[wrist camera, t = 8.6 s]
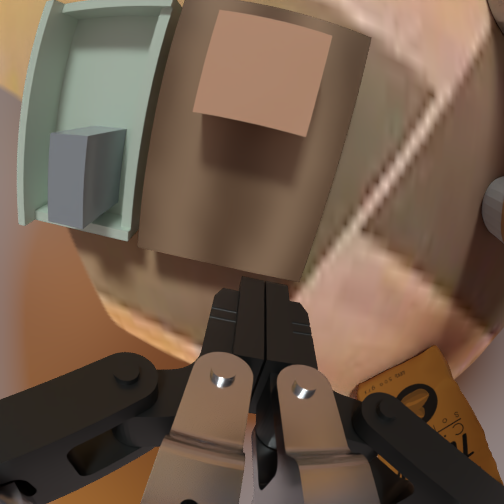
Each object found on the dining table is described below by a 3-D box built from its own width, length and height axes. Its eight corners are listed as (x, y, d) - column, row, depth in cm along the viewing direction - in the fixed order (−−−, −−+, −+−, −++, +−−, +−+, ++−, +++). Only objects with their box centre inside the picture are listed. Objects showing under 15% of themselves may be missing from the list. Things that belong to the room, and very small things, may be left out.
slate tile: (87, 135, 15) (50, 133, 14) (82, 229, 17) (48, 221, 17) (126, 128, 20) (94, 125, 20) (118, 202, 23) (88, 196, 22)
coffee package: (346, 376, 32) (387, 550, 12) (439, 331, 30) (522, 484, 10) (365, 412, 36) (397, 549, 16) (443, 374, 33) (500, 501, 13)
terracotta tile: (320, 47, 15) (332, 35, 12) (298, 134, 17) (306, 137, 15) (225, 25, 14) (219, 9, 12) (202, 112, 17) (192, 111, 14)
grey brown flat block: (353, 48, 18) (371, 37, 14) (293, 257, 26) (299, 282, 22) (197, 12, 17) (186, -6, 13) (153, 227, 24) (137, 247, 21)
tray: (185, 11, 17) (168, -12, 12) (142, 224, 24) (120, 249, 20) (78, 14, 16) (46, 1, 11) (50, 204, 23) (18, 224, 19)
